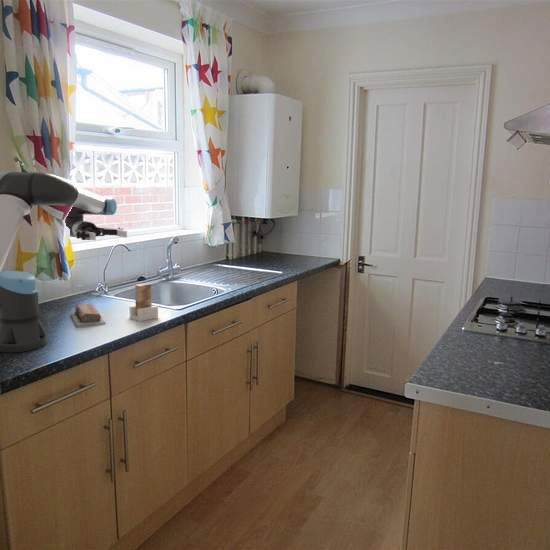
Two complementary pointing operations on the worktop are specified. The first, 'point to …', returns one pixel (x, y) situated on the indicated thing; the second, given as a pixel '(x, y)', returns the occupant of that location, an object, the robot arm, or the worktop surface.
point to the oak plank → (142, 296)
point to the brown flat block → (86, 316)
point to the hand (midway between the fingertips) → (110, 235)
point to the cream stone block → (143, 313)
